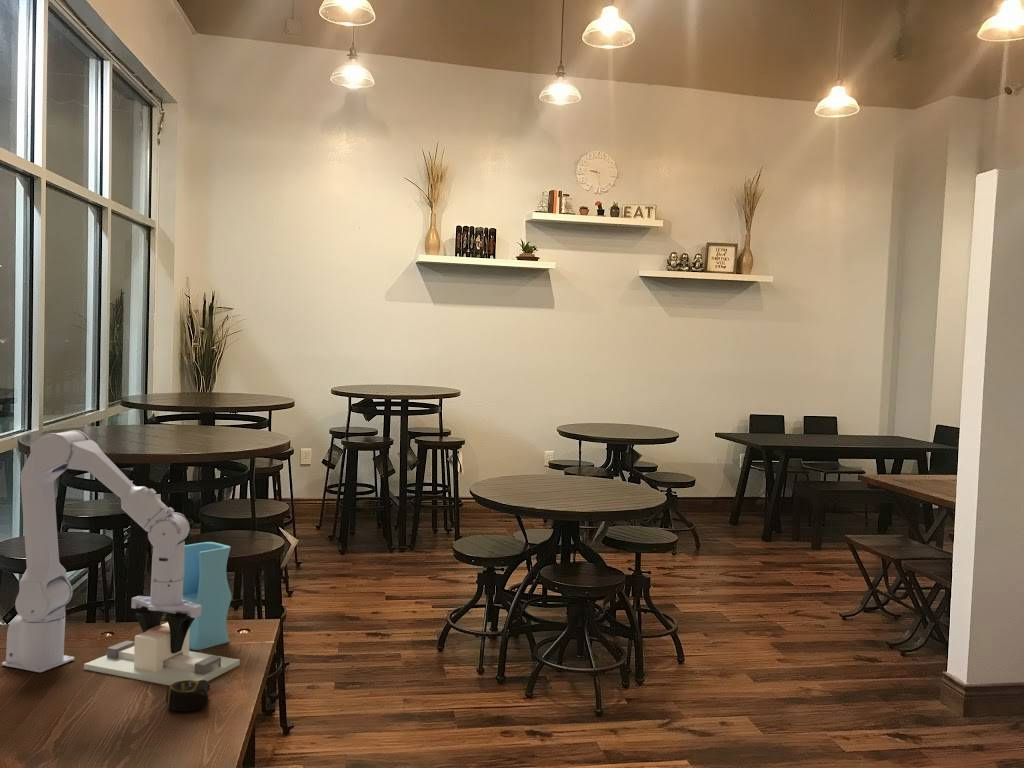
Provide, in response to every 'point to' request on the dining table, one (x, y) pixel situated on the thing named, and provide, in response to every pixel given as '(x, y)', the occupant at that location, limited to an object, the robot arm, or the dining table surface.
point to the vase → (207, 592)
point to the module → (156, 648)
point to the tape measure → (187, 695)
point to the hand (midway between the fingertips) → (164, 649)
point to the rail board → (173, 667)
